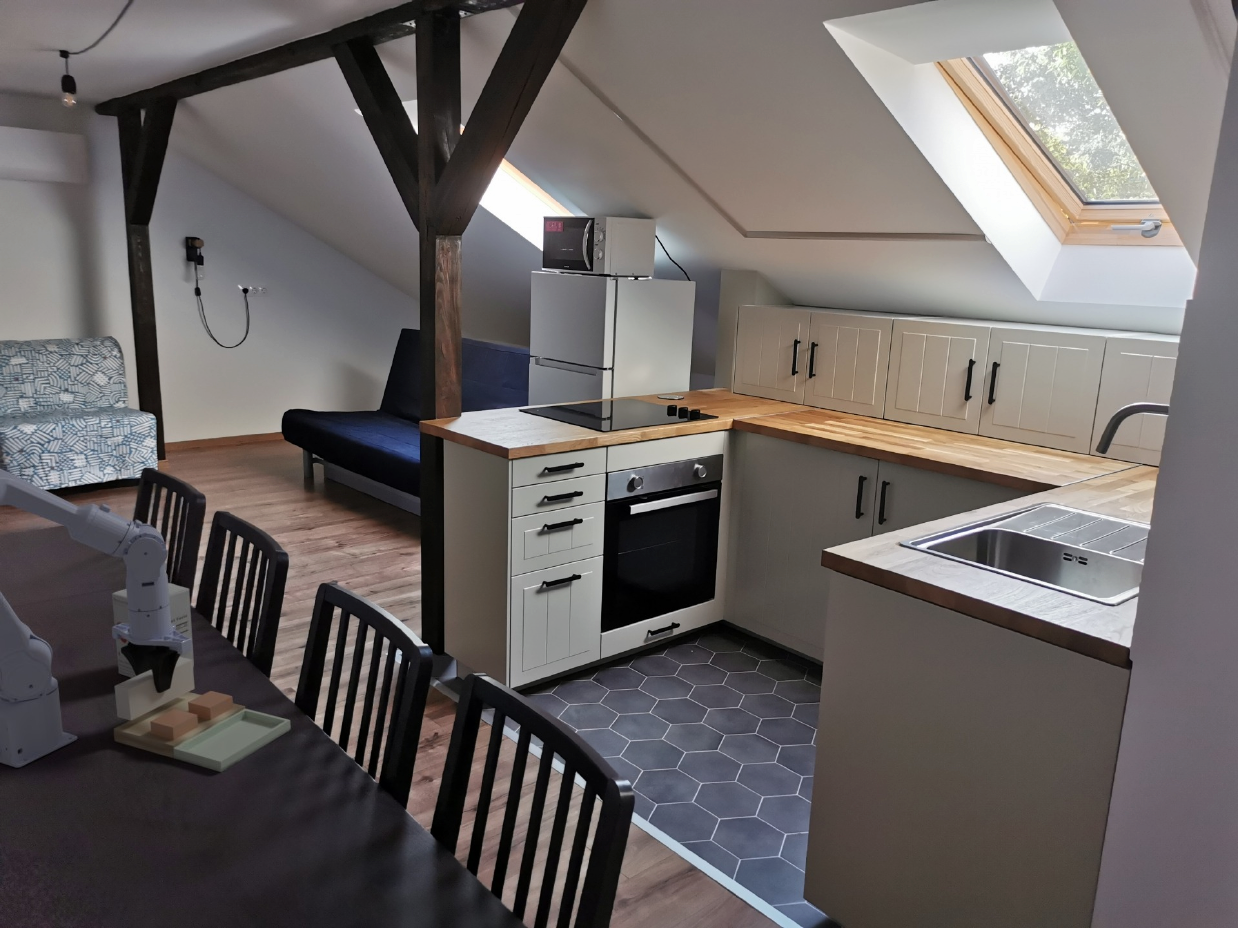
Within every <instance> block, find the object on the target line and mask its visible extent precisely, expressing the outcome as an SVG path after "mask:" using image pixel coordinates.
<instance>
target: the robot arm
mask: <svg viewBox="0 0 1238 928" xmlns="http://www.w3.org/2000/svg"><path fill="white" fill-rule="evenodd" d="M6 505H7V506H11V507H15V508H16V509H20V510H22V511H25V512H27V513H30V514H33V515H35V516H38V517H40V518H43V519H46V520H48V521H51V522H54V523H56V524H59V525H62V526H63V527H66V528H67V531H68V534H69V537H70V539H71V540H74V541H77V542H78V543H81V544H83V545H86V546H88V547H91V548H93V549H95V550H97V551H100V552H102V553H104V554H107V555H109V556H111V557H113V558H114V557H117V558H123V562H124V564H125V565H126V566H125V567H126V577H125V589H126V591H127V603H128V615H129V624H125V623H121V624H118V625H116V626H115V625H113V626H112V627H111V635H112V639H114V640H116V639H120V638H123V639H127V640H128V642H129V643H127V645H126V646H124V647H122V648H121V653H122V654H123V655H124V656H125V657H126V659H127V660H128V661H129V663H130V664H131V666H132V668H133V670H134V672H135V675H136V676H138V675H140V674H142V673H144V672H147V671H149V670H152V673H153V679H154V685H155V688H156V691H157V693H162V692H164V691H166V690H168V689H170V687H171V682H172V677H173V673H174V669H175V666H176V663H177V661H178V659H179V657H180V655H181V654H185V653H187V652H189V651H191V650H193V651H194V648H193V649H192V644H193V637H192V638H188V637H186V636H184V635H182V634H181V633H179V632H177V631H176V625H175V624H171V615H170V601H169V589H168V583H169V579H168V574H167V572H166V570H167V563H166V561H167V558H168V555H169V551H168V550H167V546H166V543H165V541H164V540H165V539H164V537H163V534H162V533H161V532H160V531H159V530H158V529H156V528H155V527H153V525H152V524H150V523H143V522H142V521H140V520H139V519H135V520H134V521H133V520H131V519H128V518H126V517H124V516H121V515H120V514H117V513H115V512H113V511H112V508H111V507H112V506H111V505H107V504H105V503H101V504H100V505H97V504H95V503H88V504H85V505H79V506H78V505H75V504H74V503H72V502H70V501H68V500H65V499H63V498H61V497H60V496H57V495H56V494H53V493H51V492H49V491H47V490H45V489H43V488H41V487H39V486H37V485H35V484H34V483H31V482H29V481H27V480H25V479H23V478H20V477H19V476H17V475H14V474H13V473H11V472H8V471H6V470H4V469H2V468H0V506H6ZM53 654H54V653H53V648H52V647H51V645H50V644H49V642H47V641H46V640H45V639H43V638H41V637H39V636H37V635H36V634H35V633H33V631H32V630H31V629H30V627H29V626H28V625H26V623H24V622H22V621H21V620H20V618H19V617H18V616H17V614H16V612H15V611H14V610H13V608H12V607H11V605H10V604H9V602H8V600H7V599H6V598H5V596H4V595H3V593H2V592H1V591H0V764H1V763H2V764H3V765H7V766H10V767H14V768H22V767H23V766H26V765H27V764H29V763H32V762H34V761H35V760H38V759H40V758H41V757H43V756H46V755H48V754H50V753H52V752H54V751H56V750H59V749H60V748H62V747H64V746H67V745H69V744H71V743H73V742H75V741H76V740H77V739H78V736H77V735H74V734H71V733H69V732H64V731H63V721H62V714H61V713H62V712H61V701H60V693H59V681H58V680H57V679H56V678H55V677H53V672H52V661H53V656H54V655H53Z"/></svg>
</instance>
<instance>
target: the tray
mask: <svg viewBox="0 0 1238 928" xmlns="http://www.w3.org/2000/svg"><path fill="white" fill-rule="evenodd" d="M291 727H292V726H291V719H288V718H283V717H279V716H276V715H272V714H269V713H264V712H260V711H256V710H253V709H248V708H245V709H244V710H242V711H240V712H238V713H236V714H235V715H233V716H231V717H229V718H227V719H226V720H224V721H222V722H220V723H218V724H217V725H215V726H213V727H211V728H209V729H208V730H206V731H204V732H202V733H200V734H198V735H197V736H195V737H193V738H191V739H189V740H188V741H186V742H184V743H182V744H180V745H179V746H177V747H175V748H173V749H174V758H173V759H176V760H178V761H182V762H185V763H189V764H192V765H195V766H199V767H202V768H206V769H209V770H213V771H216V772H219V773H223V772H224V771H226V770H227V769H230V768H231V767H232V766H234V765H235V764H237V763H239V762H241V761H243V760H244V759H245V758H247V757H249V756H250V755H252V754H253V753H255V752H256V751H258V750H260V749H262V748H263V747H265V746H266V745H268V744H270V743H272V741H275V740H276V739H277V738H279V737H281V736H282V735H283V736H284V734H286V733H287V732H289V731H291V730H292V729H291Z"/></svg>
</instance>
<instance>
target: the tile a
mask: <svg viewBox="0 0 1238 928" xmlns="http://www.w3.org/2000/svg"><path fill="white" fill-rule="evenodd" d="M150 724H151V734H154V735H157V736H161V737H164V738H168V739H172V740H175V739H177V738H179V737H181V736H182V735H184V734H186V733H188V732H190V731H192V730H193V729H195V728H197V727H198V719H197V715H196V714H192V713H189V712H185V711H181V710H177V709H174V710H172V711H170V712H168V713H166V714H164V715H162V716H160V717H158V718H156V719H154V720H152V721H150Z"/></svg>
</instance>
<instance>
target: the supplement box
mask: <svg viewBox="0 0 1238 928" xmlns="http://www.w3.org/2000/svg"><path fill="white" fill-rule="evenodd" d="M168 589H169V601H170V615H171V624H175V625H176V631H177V632H179V633H181V634H182V635H184V636H186V637H188V638H192V639H193V632H192V631H193V630H192V616H191V615H192V614H191V601H190V600H191V599H190V588H188V587H184V586H182V585H181V586H180V585H177V584H174V583H170V582H168ZM111 598H112V610H113V622H114V626H116V625H118V624H121V623H125V624H129V615H128V603H127V591H126V588H125V589H122V590H118V591H115V592H112V593H111ZM115 641H116V643H115V646H116V655H117V657H116V658H117V666H118V667H117V668H118V674H119V675H122V676H125V677H128V678H130V679H131V678H133V677H136V675H135V672H134V670H133V668H132V666H131V664H130V663H129V661H128V660H127V659H126V657H125V656H124V655H123V654H122V653H121V648H122V647H124V646H126V645H127V643H129V642H128V640H127V639H123V638H120V639H115ZM192 649H193V650H191V651H189V652H187V653H185V654H181V655H180V657H183V658H187V659H191V660H192V661H193V668H194V667H195V664H194V647H193V643H192Z"/></svg>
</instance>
